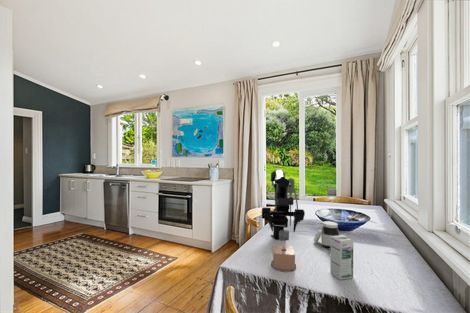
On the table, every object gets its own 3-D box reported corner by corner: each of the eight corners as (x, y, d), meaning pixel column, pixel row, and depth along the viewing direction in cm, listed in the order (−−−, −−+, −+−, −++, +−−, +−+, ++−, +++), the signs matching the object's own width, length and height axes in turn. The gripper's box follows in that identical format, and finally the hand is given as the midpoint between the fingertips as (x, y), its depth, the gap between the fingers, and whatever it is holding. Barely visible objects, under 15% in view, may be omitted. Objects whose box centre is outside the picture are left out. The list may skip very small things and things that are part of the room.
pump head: (278, 248, 96) (278, 229, 96) (288, 249, 96) (288, 230, 96) (279, 255, 90) (279, 234, 90) (289, 255, 89) (290, 235, 89)
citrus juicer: (281, 220, 160) (282, 177, 159) (294, 219, 163) (294, 177, 162) (290, 225, 149) (290, 179, 149) (303, 224, 152) (304, 178, 152)
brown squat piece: (270, 259, 100) (271, 244, 99) (294, 260, 98) (294, 246, 98) (271, 270, 90) (271, 254, 90) (297, 272, 88) (298, 256, 88)
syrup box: (340, 280, 83) (341, 240, 83) (329, 272, 89) (330, 235, 89) (353, 278, 85) (354, 239, 85) (341, 270, 91) (342, 234, 90)
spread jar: (340, 251, 109) (341, 226, 109) (315, 248, 112) (316, 225, 111) (334, 241, 121) (335, 219, 121) (312, 240, 123) (312, 218, 123)
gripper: (262, 189, 104) (261, 220, 93) (304, 191, 102) (308, 223, 91) (262, 203, 112) (261, 233, 101) (301, 205, 110) (304, 236, 99)
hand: (283, 231), depth 98 cm, fingers open, 9 cm apart
